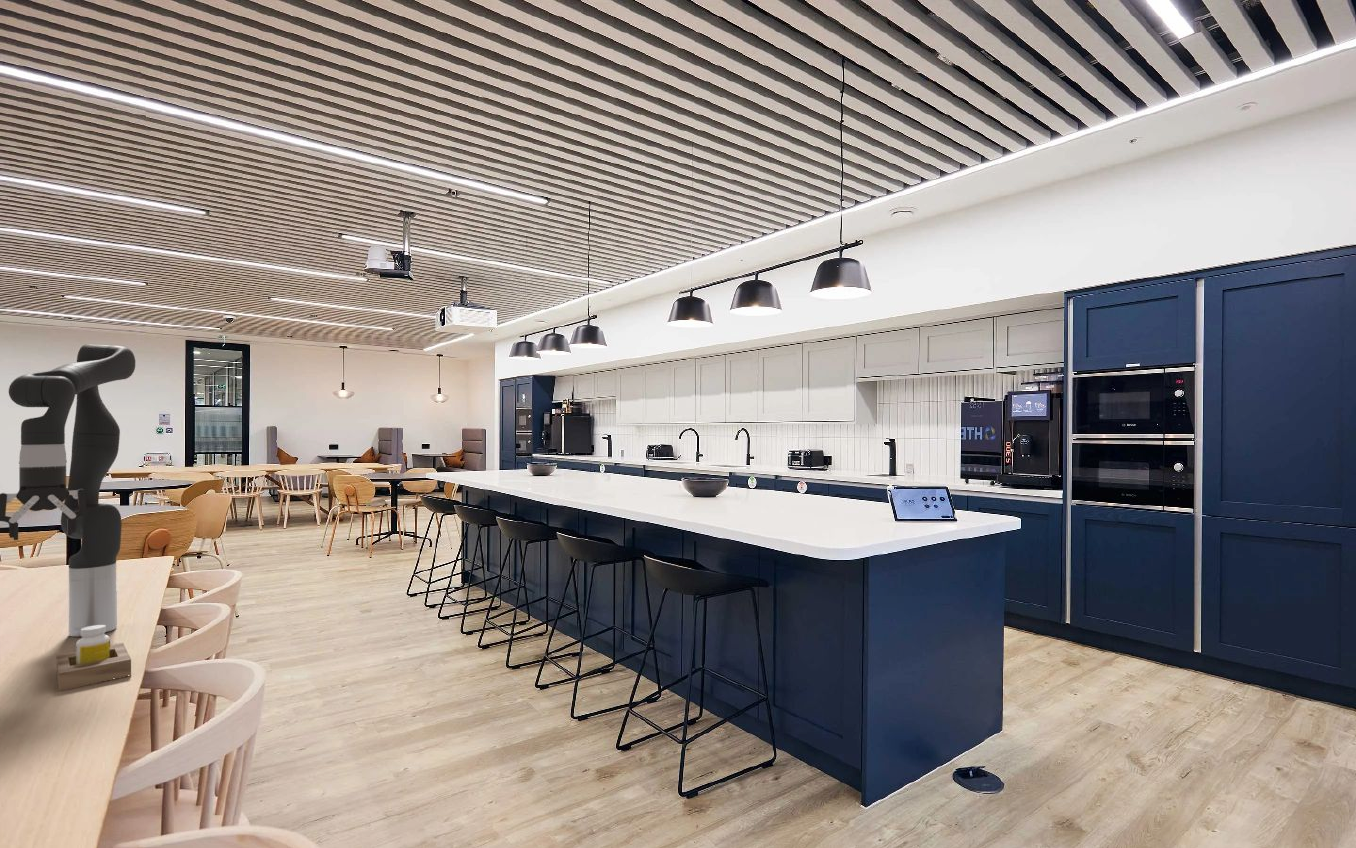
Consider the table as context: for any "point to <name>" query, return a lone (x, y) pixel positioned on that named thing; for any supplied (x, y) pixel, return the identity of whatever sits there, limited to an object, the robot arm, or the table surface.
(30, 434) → the robot arm
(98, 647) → the supplement bottle
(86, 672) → the well block
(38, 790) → the table surface
